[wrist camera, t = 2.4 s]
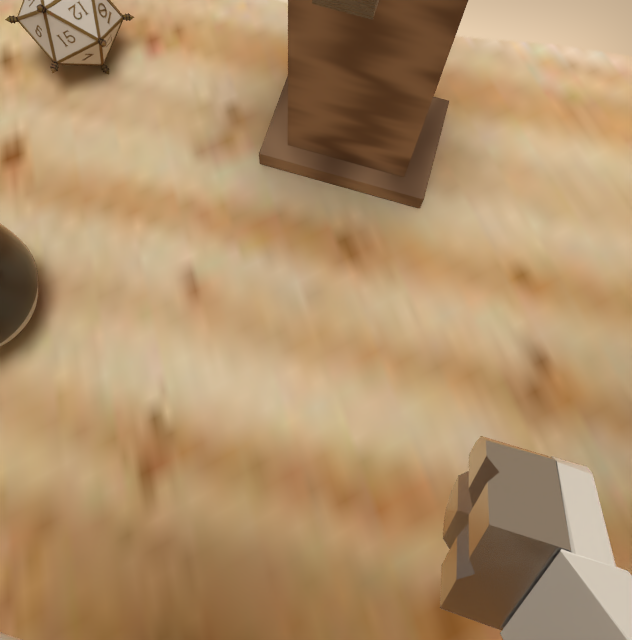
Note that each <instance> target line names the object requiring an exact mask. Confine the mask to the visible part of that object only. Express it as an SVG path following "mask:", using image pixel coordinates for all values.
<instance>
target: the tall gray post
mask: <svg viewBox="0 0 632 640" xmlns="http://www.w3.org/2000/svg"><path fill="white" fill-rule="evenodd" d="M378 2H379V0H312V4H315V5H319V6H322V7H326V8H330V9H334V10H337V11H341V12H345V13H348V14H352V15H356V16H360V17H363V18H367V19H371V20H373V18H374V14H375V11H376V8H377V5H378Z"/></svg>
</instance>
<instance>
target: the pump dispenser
mask: <svg viewBox="0 0 632 640" xmlns="http://www.w3.org/2000/svg"><path fill="white" fill-rule="evenodd" d="M37 298H38V273H37V268H36V264H35V261H34V259H33V256H32V254H31V253H30V251H29V249H28V248H27V247H26V245H25V244H24V243H23V242H22V241H21V240H20V239H19V238H18V237H17V236H16V235H15V234H14V233H12V232H11V231H10V230H9V229H7V228H6V227H5V226H3V225H2V224H0V346H2V345H4V344H6V343H7V342H9V341H10V340H11V339H13V338H14V337H15V336H16V335H18V334H19V333H20V332H21V331H22V329H23V328H24V327H25V326H26V324H27V323H28V321H29V320H30V318H31V316H32V314H33V312H34V310H35V307H36V303H37Z"/></svg>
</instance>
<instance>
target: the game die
mask: <svg viewBox="0 0 632 640" xmlns="http://www.w3.org/2000/svg"><path fill="white" fill-rule="evenodd" d="M132 18H134V17H133V16H131V15H130V14H129V13H128V14H125V15H122V14H121V13H120V11H119V10H118V9H117V8H116V7H115V5H114V4H113V3H112V2H111V1H110V0H23V3H22V6H21V8H20V11H19V14H18V16H17V17H14V16H9V17H8V18H6V19H5V20H7V21H9V22H11V23H15V22H19V23H20V24H21V25H22V27H23V28H24V29H25V30H26V31H27V32H28V33H29V35H30V36H31V37H32V38H33V39H34V40H35V41H36V43H37V44H38V45H39V46H40V47H41V48H42V49H43V51H44V52H45V53H46V54H47V55H48V56H49V58H50V59H51V60H52V61H53V62H54V63H53V64H52V66H51V70H52V73H54V72H55V71H58V70H57V69H58V64H62V65H100V66H101V67H102V69H103V72H105V73H107V74H109V68H107V66H106V65H105V64H104V63H105V60H106V58H107V56H108V53H109V51H110V49H111V47H112V44H113V42H114V40H115V37H116V35H117V33H118V30H119V28H120V26H121V23H122V21H123V20H126V21H127V20H129V21H130V20H131V19H132Z"/></svg>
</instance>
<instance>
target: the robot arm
mask: <svg viewBox="0 0 632 640" xmlns="http://www.w3.org/2000/svg"><path fill="white" fill-rule="evenodd" d="M443 539H444V541H445V542H446V544H447V546H448V547H449V549H450V550H449V552H448V554H447V556H446V558H445V560H444V562H443V563H442V569H441V597H440V608H441V609H444V610H446V611H449V612H452V613H455V614H458V615H460V616H463V617H466V618H469V619H471V620H474V621H477V622H480V623H482V624H485V625H488V626H491V627H493V628H496V629H499V630H502V631H501V633H500V634H501V636H502V638H503V640H632V575H631V574H630V573H629V572H628V571H627V570H624V569H621V568H618V567H616V564H615V560H614V556H613V552H612V548H611V544H610V540H609V536H608V532H607V529H606V525H605V521H604V517H603V513H602V509H601V505H600V501H599V497H598V493H597V489H596V485H595V481H594V477H593V473H592V472H591V470H590V469H589V468H588V467H587V466H584V465H580V464H577V463H573V462H570V461H566V460H562V459H559V458H555V457H548V456H546V455H542V454H539V453H536V452H532V451H529V450H526V449H522V448H519V447H516V446H512V445H509V444H506V443H503V442H499V441H496V440H493V439H489V438H486V437H483V436H481V437H480V438H479V439H478V440H477V441H476V443H475V444H474V446H473V448H472V450H471V452H470V454H469V471H468V472H466V473H463V474H461V475H459V476H458V478H457V480H456V482H455V484H454V487H453V489H452V491H451V494H450V497H449V500H448V504H447V507H446V512H445V518H444V528H443ZM0 640H21V639H19V638H16V637H13V636H10V635H7V634H5V633H2V632H0Z"/></svg>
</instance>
